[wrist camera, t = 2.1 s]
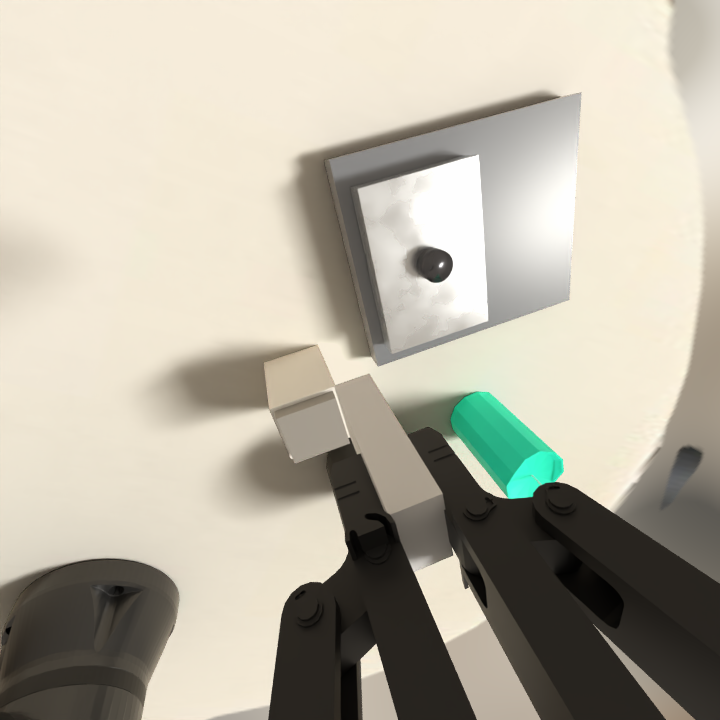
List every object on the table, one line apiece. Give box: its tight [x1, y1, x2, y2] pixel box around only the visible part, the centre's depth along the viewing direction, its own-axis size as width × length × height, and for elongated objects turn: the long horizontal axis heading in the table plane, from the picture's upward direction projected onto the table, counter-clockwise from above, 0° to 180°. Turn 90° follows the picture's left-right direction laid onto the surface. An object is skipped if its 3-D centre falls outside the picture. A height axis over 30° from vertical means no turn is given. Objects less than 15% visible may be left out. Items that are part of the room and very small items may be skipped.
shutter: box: [350, 155, 488, 354], centre depth 30 cm, size 9×13×3 cm
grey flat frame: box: [324, 93, 581, 366], centre depth 32 cm, size 20×17×2 cm
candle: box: [450, 392, 564, 499], centre depth 38 cm, size 6×6×12 cm
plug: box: [264, 345, 350, 464], centre depth 31 cm, size 5×5×8 cm
